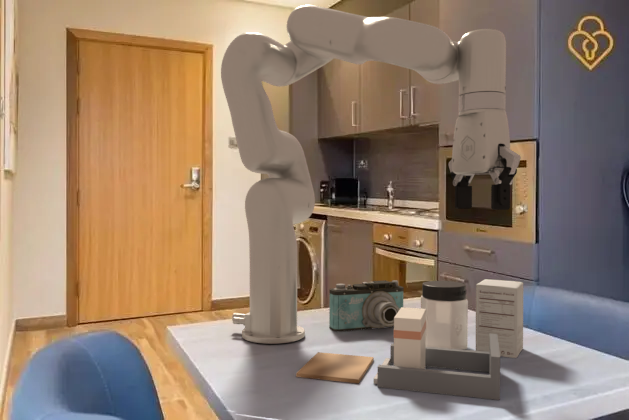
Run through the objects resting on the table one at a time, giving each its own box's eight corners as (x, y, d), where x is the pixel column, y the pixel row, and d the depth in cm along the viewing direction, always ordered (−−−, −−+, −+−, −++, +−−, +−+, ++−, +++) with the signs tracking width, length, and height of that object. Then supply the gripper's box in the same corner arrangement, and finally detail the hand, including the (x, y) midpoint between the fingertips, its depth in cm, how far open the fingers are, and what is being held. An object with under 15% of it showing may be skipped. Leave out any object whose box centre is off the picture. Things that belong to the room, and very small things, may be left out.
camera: (344, 339, 107) (344, 289, 107) (327, 328, 116) (327, 282, 116) (417, 333, 113) (417, 285, 112) (396, 323, 122) (396, 279, 121)
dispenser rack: (372, 386, 81) (372, 346, 80) (386, 360, 93) (387, 326, 93) (499, 400, 75) (500, 357, 75) (496, 370, 88) (497, 334, 88)
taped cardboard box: (393, 383, 82) (393, 317, 82) (400, 367, 90) (401, 307, 90) (420, 385, 81) (421, 319, 81) (425, 369, 89) (426, 308, 89)
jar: (443, 355, 97) (443, 289, 96) (411, 344, 103) (411, 282, 103) (476, 347, 102) (477, 284, 101) (444, 338, 108) (444, 279, 108)
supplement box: (483, 343, 105) (484, 278, 104) (524, 348, 101) (524, 281, 101) (474, 352, 98) (474, 283, 98) (516, 359, 95) (517, 287, 94)
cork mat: (296, 376, 85) (296, 373, 85) (318, 355, 96) (318, 352, 96) (358, 383, 82) (358, 379, 82) (373, 360, 93) (373, 357, 93)
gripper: (433, 113, 97) (433, 208, 98) (497, 96, 81) (497, 210, 82) (468, 115, 100) (468, 208, 100) (537, 99, 84) (536, 210, 84)
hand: (481, 209), depth 91 cm, fingers open, 9 cm apart
